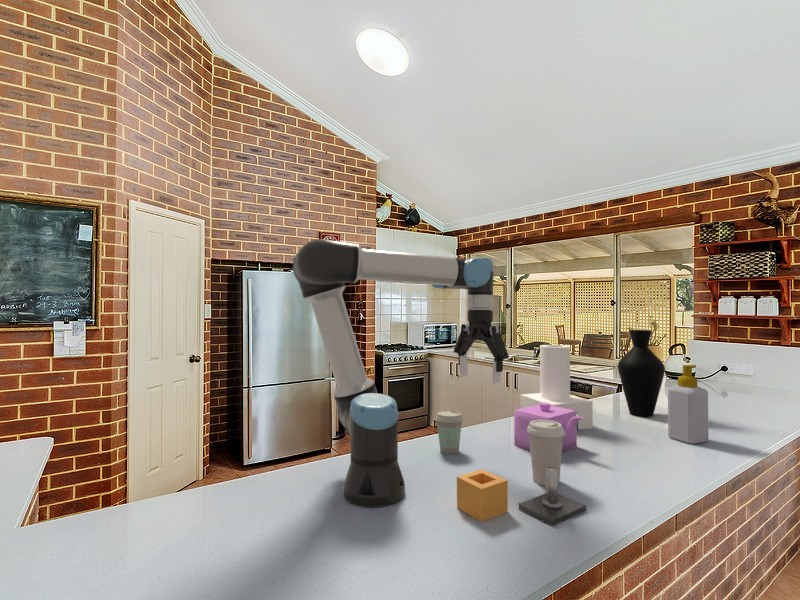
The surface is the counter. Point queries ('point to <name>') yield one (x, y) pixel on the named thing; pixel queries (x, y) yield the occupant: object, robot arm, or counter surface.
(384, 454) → the robot arm
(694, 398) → the soap bottle
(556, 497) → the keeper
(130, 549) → the counter surface
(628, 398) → the vase
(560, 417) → the teapot
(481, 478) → the hollow block
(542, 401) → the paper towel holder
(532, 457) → the coffee cup
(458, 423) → the coffee cup
